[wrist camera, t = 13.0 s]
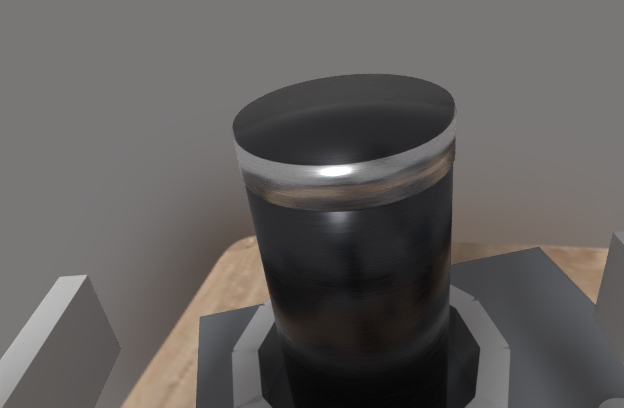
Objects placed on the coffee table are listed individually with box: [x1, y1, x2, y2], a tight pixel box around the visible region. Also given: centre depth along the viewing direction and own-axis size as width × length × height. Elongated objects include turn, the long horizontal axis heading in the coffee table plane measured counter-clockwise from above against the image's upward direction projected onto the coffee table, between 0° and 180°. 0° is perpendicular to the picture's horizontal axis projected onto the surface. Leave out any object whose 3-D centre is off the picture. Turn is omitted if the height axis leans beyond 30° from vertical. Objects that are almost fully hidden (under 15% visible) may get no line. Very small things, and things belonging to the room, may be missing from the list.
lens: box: [232, 74, 457, 408], centre depth 17 cm, size 6×6×12 cm
